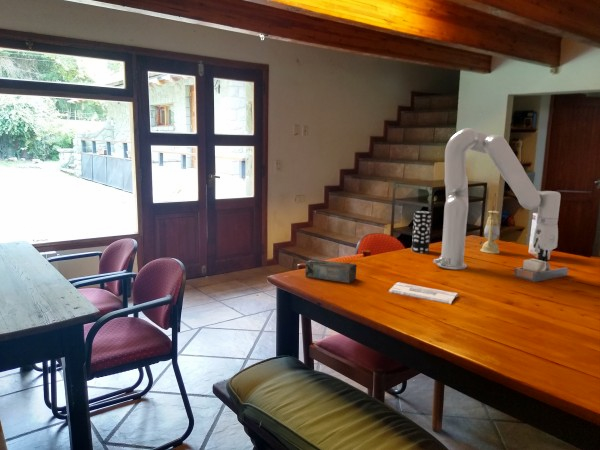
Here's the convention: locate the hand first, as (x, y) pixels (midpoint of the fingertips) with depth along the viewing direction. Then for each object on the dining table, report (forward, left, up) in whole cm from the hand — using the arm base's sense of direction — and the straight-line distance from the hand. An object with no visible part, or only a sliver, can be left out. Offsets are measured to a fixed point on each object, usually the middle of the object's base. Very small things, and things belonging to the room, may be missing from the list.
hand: (541, 264), depth 189 cm
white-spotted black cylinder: (-15, +55, -5) cm, 57 cm away
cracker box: (+32, +22, -5) cm, 39 cm away
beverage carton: (-82, +35, -5) cm, 89 cm away
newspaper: (-62, +4, -6) cm, 63 cm away
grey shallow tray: (0, 0, -5) cm, 5 cm away
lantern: (+18, +40, -5) cm, 44 cm away
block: (-5, 0, -5) cm, 7 cm away
